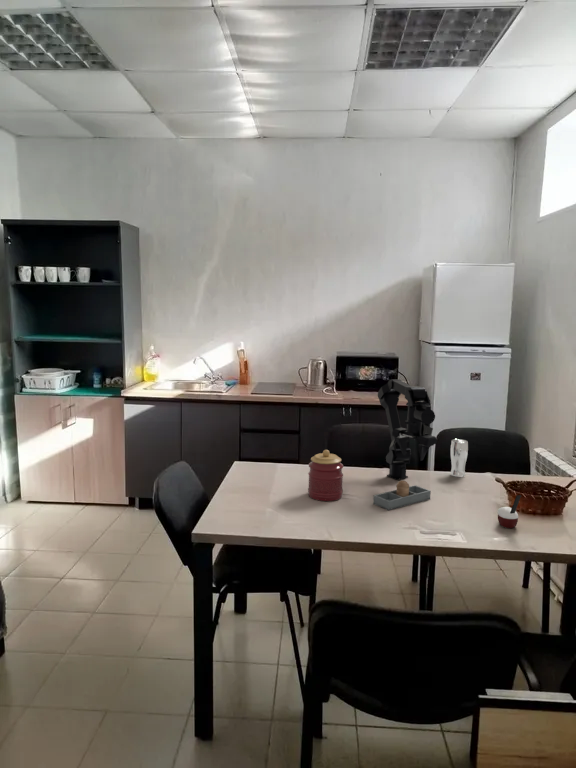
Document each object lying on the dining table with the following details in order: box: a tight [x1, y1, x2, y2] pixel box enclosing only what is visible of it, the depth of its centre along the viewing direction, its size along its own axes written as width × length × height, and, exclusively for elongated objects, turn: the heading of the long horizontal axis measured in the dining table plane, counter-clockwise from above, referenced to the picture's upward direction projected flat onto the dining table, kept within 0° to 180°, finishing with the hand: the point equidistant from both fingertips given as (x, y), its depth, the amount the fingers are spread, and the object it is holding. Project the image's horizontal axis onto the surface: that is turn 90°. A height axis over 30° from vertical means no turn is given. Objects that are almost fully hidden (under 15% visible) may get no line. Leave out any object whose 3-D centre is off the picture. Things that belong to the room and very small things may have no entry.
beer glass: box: [449, 438, 469, 478], centre depth 231 cm, size 7×7×15 cm
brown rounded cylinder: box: [396, 480, 410, 497], centre depth 198 cm, size 4×4×7 cm
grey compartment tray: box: [372, 484, 432, 511], centre depth 199 cm, size 8×22×3 cm, turn 124°
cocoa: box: [497, 494, 522, 529], centre depth 176 cm, size 10×6×12 cm, turn 169°
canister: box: [307, 449, 344, 502], centre depth 203 cm, size 13×13×18 cm
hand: (412, 457), depth 214 cm, fingers open, 9 cm apart
